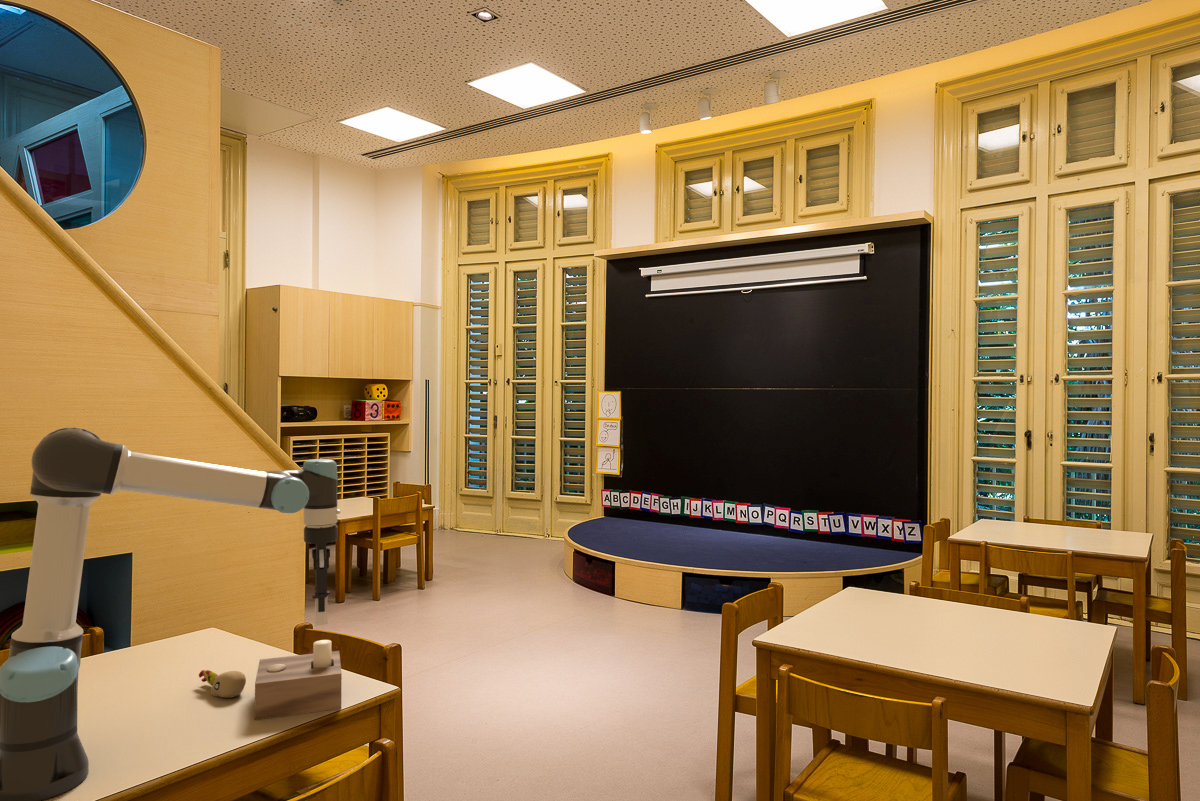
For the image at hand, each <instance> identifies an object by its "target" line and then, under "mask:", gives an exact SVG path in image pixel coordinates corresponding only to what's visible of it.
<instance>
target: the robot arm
mask: <svg viewBox="0 0 1200 801" xmlns="http://www.w3.org/2000/svg"><path fill="white" fill-rule="evenodd" d="M337 464H338V463H337V462H336V461H335V460H333V459H328V458H323V459H322V458H321V459H320V458H317V459H306V460H305V461H303V466H302V468H299V469H287V470H268V471H267V470H262V471H258V470H252V469H246V468H245V469H244V468H240V467H233V466H227V465H220V464H213V463H207V462H201V461H195V460H187V459H182V458H175V457H169V456H162V455H155V454H149V453H144V452H143V453H142V452H136V451H131V450H129V448H128V447H127V446H126V445H125V444H121V443H114V442H109V441H105V440H103V439H101V438H100V437H99V436H98V435H97V434H95V433H94V432H93V431H92V432H91V431H90V430H87V429H85V428H80V427H79V428H77V427H64V428H59V429H56V430H53V431H51V432H50V433H48V434H46V435H45V436H44V437H42V439H41V440H40V441H39V442H38V444H37V445H36V446H35V448H34V450H33V453H32V455H31V469H32V476H31V484H30V493H29V494H30V497H31V498H33V499H34V500H35V502H37V513H36V519H35V526H34V535H33V540H32V541H33V542H32V550H31V558H30V567H29V574H28V579H27V580H28V582H27V588H26V597H25V601H24V602H25V603H24V604H25V605H24V611H23V617H22V625H21V626H20V627H19V628H17V629H15V631H14V632H12V634H11V637H10V644H9V652H8V657H7V658H8V659H6V660H5V661H4V662H3V663H2V665H0V801H41V800H42V801H46V800H47V799H51V798H55V797H56V796H59V795H61V794H64V793H66V792H69V791H70V790H72V789H74V788H76V787H77V786H78V785H80V784H82V782H84V781H85V780H86V778H87V777H88V775H89V768H90V767H89V765H90V764H89V758H88V756H87V753H86V750H85V748H84V746H83V743H82V742H81V738H80V736H79V734H78V687H79V684H78V683H79V674H80V673H79V670H80V667H81V655H82V654H81V652H82V646H83V638H84V637H83V635H84V629H83V628H82V626H80V625H79V624H78V623H77V621H76V620H77V614H78V606H79V600H80V592H81V591H80V590H81V584H82V575H83V568H84V567H83V566H84V559H85V553H86V552H85V550H86V544H87V537H88V536H87V535H88V529H89V528H88V527H89V522H90V521H89V520H90V519H89V518H90V515H91V514H90V512H91V507H92V506H91V505H92V504H93V503H94V502H96V501H97V500H98V499H99V498H101V496H102V494H108V495H114V494H115V493H118V492H119V491H125V492H126V491H127V492H132V493H133V492H134V493H142V494H149V495H156V496H157V495H159V496H165V497H174V498H182V499H189V500H196V501H197V500H198V501H204V502H213V503H220V504H229V505H235V506H236V505H238V506H244V507H253V508H258V509H266V510H271V511H277V512H279V513H283V514H295V513H298V512H300V511H301V510H303V525H305V526H304V528H303V542H304V543H305V544H309V545H315V547H314V548H312V549H311V557H312V559H313V560H312V562H313V563H312V564H313V567H312V568H313V570H314V572H315V573H314V575H315V576H314V577H315V580H314V582H315V584H314V586H315V587H314V591H315V592H314V595H312V596H311V597H312V600H314V621H315V622H314V625H315V627H317V626H326V625H328V620H329V619H328V597H329V596H328V595H330V594H331V591H330V590H329V591H328V569H329V568H330V557H331V549H330V547H327V544H328V543H329V544H330V543H334V542H337V540H338V539H339V536H338V535H339V533H338V532H339V528H338V525H337V523H338V515H339V514H340V513H341V510H340V509H338V481H339V477H338V465H337Z"/></svg>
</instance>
